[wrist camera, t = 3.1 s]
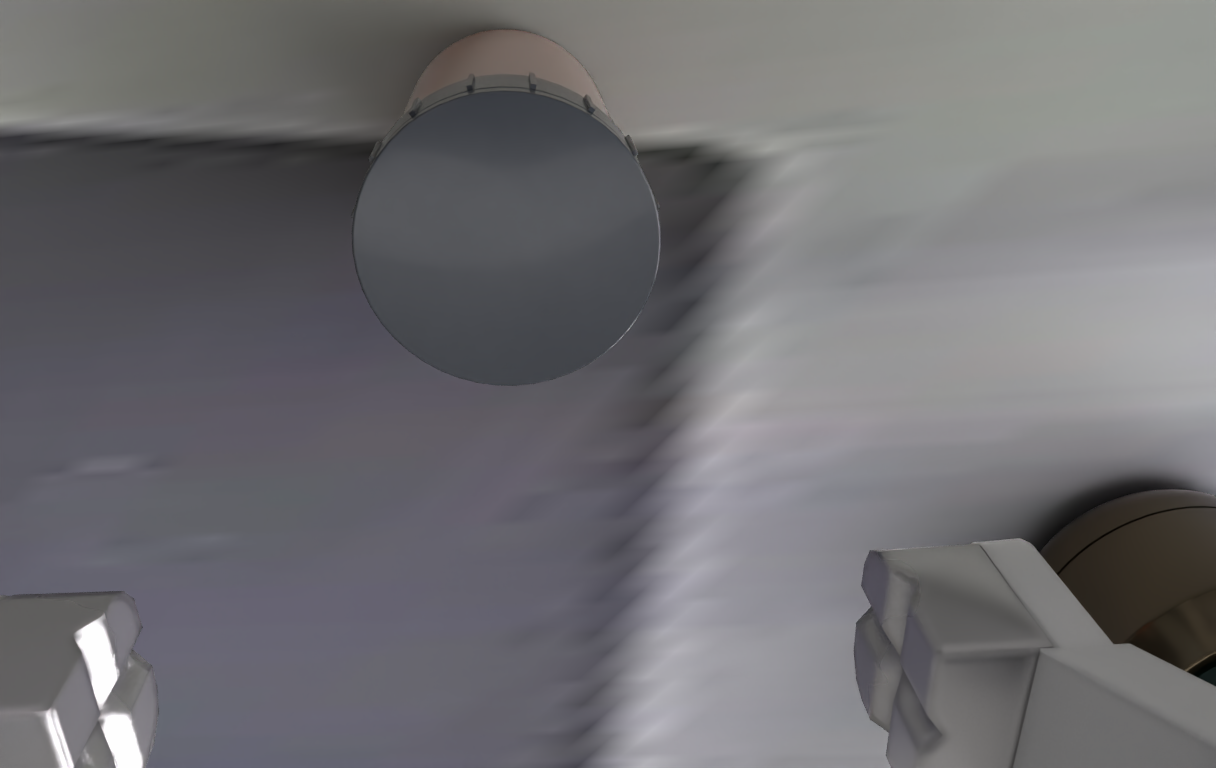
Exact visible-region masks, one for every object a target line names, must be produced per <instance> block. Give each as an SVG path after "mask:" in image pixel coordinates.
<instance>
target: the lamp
mask: <svg viewBox="0 0 1216 768" xmlns="http://www.w3.org/2000/svg"><path fill="white" fill-rule="evenodd" d="M1039 553H1040V555H1041V556H1042V557H1043V558H1044V559H1045V561H1046V562H1047V563H1048V564H1049V566H1050V567H1051V568H1052V569H1053V571H1054V572H1055V573H1056V574H1057V575H1058V577H1059V578H1060V579H1061V580H1062V582H1063V583H1064V584H1065V585H1066V586H1067V588H1068V589H1069V590H1070V591H1071V593H1072V594H1073V595H1074V596H1075V597H1076V599H1077V600H1078V601H1079V602H1080V604H1081V605H1082V606H1083V607H1084V609H1085V610H1086V611H1087V612H1088V613H1089V615H1090V616H1091V617H1092V618H1093V620H1094V621H1095V622H1096V623H1097V624H1098V626H1099V627H1100V628H1101V629H1102V631H1103V632H1104V633H1105V634H1106V635H1107V637H1108V638H1109V639H1110V640H1111V642H1112V643H1113V644H1132V645H1134V646H1136V647H1138V648H1140V649H1142V650H1144V651H1146V652H1148V653H1150V654H1152V655H1154V656H1156V657H1158V658H1160V659H1162V660H1164V661H1166V662H1168V663H1170V664H1172V665H1174V666H1176V667H1178V668H1180V669H1182V670H1184V671H1186V672H1188V673H1190V674H1192V675H1194V676H1196V677H1198V678H1200V679H1202V680H1204V681H1206V682H1208V683H1210V684H1212V685H1214V686H1216V496H1215V495H1211V494H1208V493H1204V492H1199V491H1193V490H1184V489H1158V490H1149V491H1143V492H1138V493H1133V494H1129V495H1126V496H1122V497H1119V498H1116V499H1114V500H1111V501H1108V502H1106V503H1104V504H1101V505H1099V506H1097V507H1095V508H1093V509H1091V510H1089V511H1088V512H1086V513H1084V514H1082V515H1081V516H1079V517H1078V518H1076V519H1075V520H1073V521H1072V522H1070V523H1069V524H1068V525H1067V526H1065V527H1064V528H1063V529H1061V530H1060V531H1059V532H1058V533H1057V534H1056V535H1055V536H1054V537H1053V538H1052V539H1051V540H1050V541H1049V542H1048V543H1047V544H1046V545H1045V546H1044V547H1043V548H1042V550H1041V551H1040V552H1039Z"/></svg>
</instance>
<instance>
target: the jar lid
mask: <svg viewBox="0 0 1216 768" xmlns="http://www.w3.org/2000/svg"><path fill="white" fill-rule="evenodd" d="M636 155H638V151H637V149H636V147H635V145H634V143H633V141H632V139H631V138H630V136H629V135H628V136H626V137H625V136H624V135H623V133H622V132H621V130H620V129H619V128H618V127H617V126H616V125H615V124H614V122H613V121H612V120H611V119H610V118H609V117H608V116H607V115H606V114H605V113H604V112H602V111H601V110H600V109H599V108H598V107H597V106H596V105H594V104H593V102H592V100H591V97H590V96H589V95H587V94H586V95H585V96H584V97H582V96H581V95H579V94H578V93H576V92H574V91H572V90H570V89H568V88H566V87H563V86H561V85H559V84H556V83H553V82H550V81H547V80H544V79H541V78H535V73H531V72H530V73H529V76H524V75H512V74H496V75H484V76H478V77H475V76H474V73H472V74H469V75H468V79H465V80H461V81H458V82H456V83H453V84H450V85H448V86H445V87H443V88H441V89H439V90H437V91H435V92H434V93H432V94H430V95H428V96H426V97H425V98H424V99H422V100H420V99H419V97H418V98H416V99H415V100H414V102H413V104H412V106H411V108H410V109H409V110H408V111H407V112H406V113H405V114H404V115H403V116H402V117H401V118H400V119H399V120H398V121H397V122H396V123H395V125H394V126H393V127H392V129H391V130H390V131H389V133H388V134H387V135H386V137H385V138H384V140H383V142H380V141H377V143H376V145H375V147H374V149H373V151H372V153H371V155H370V157H369V159H368V160H369V161H370V162H372V163H371V165H370V167H369V169H368V171H367V173H366V175H365V178H364V180H363V183H362V186H361V188H360V191H359V193H358V197H357V201H356V205H355V207H354V209H353V211H352V214H351V218H353V225H352V248H353V257H354V262H355V267H356V272H357V275H358V278H359V281H360V284H361V287H362V290H363V292H364V294H365V296H366V298H367V300H368V303H369V305H370V307H371V308H372V310H373V311H374V313H375V314H376V316H377V317H378V319H379V320H380V322H381V323H382V325H383V326H384V327H385V328H386V329H387V330H388V332H389V333H390V334H391V335H392V336H393V337H394V338H395V339H396V340H397V341H398V342H399V343H400V344H401V345H402V346H403V347H405V348H406V349H407V350H408V351H409V352H411V353H412V354H413V355H415V356H416V357H418V358H419V359H421V360H422V361H423V362H425V363H427V364H429V365H431V366H433V367H434V368H436V369H438V370H440V371H442V372H445V373H447V374H450V375H453V376H455V377H458V378H461V379H465V380H469V381H473V382H476V383H483V384H490V385H507V386H517V385H527V384H535V383H540V382H544V381H549V380H553V379H556V378H559V377H561V376H564V375H567V374H570V373H572V372H574V371H576V370H578V369H580V368H582V367H584V366H586V365H588V364H589V363H591V362H593V361H594V360H596V359H597V358H599V357H600V356H602V355H603V354H604V353H605V352H607V351H608V350H609V349H610V348H611V347H613V346H614V345H615V344H616V343H617V342H618V341H619V340H620V339H621V338H622V337H623V336H624V335H625V333H626V332H627V331H628V330H629V329H630V328H631V326H632V325H633V323H634V322H635V321H636V319H637V318H638V316H639V315H640V313H641V311H642V310H643V308H644V306H645V304H646V302H647V300H648V298H649V296H650V293H651V290H652V288H653V285H654V282H655V279H656V275H657V270H658V266H659V261H660V250H661V230H660V220H659V215H658V210H659V209H660V206H659V203H658V201H657V199H656V197H655V195H654V193H653V191H652V188H651V186H650V184H649V182H648V180H647V178H646V176H645V174H644V171H643V169H642V167H641V165H640V163H639V161H638V159H637V157H636Z"/></svg>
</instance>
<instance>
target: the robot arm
mask: <svg viewBox="0 0 1216 768" xmlns="http://www.w3.org/2000/svg"><path fill="white" fill-rule="evenodd" d="M861 586H862V588H863V590H864V592H865V594H866V596H867V598H868V600H869V602H870V604H871V607H870V608H869V609H868V611H867V612H866V613H865V614H864V615H863V616H862V617H861V618H860V619H859V620H858V621H857V623H856V632H855V643H854V659H855V670H856V680H857V683H858V687H859V691H860V695H861V699H862V701H863V704H864V706H865V708H866V711H867V713H868V716H869V718H870V720H872V721H873V722H874V723H876V724H877V725H879V726H880V727H882V728H883V729H884V730H886V731H887V732H889V737H888V743H887V750H886V757H887V759H888V761H889V764H890V766H891V768H1216V686H1214V685H1212V684H1210V683H1208V682H1206V681H1204V680H1202V679H1200V678H1198V677H1196V676H1194V675H1192V674H1190V673H1188V672H1186V671H1184V670H1182V669H1180V668H1178V667H1176V666H1174V665H1172V664H1170V663H1168V662H1166V661H1164V660H1162V659H1160V658H1158V657H1156V656H1154V655H1152V654H1150V653H1148V652H1146V651H1144V650H1142V649H1140V648H1138V647H1136V646H1134V645H1132V644H1113V643H1112V642H1111V640H1110V639H1109V638H1108V637H1107V635H1106V634H1105V633H1104V632H1103V631H1102V629H1101V628H1100V627H1099V626H1098V624H1097V623H1096V622H1095V621H1094V620H1093V618H1092V617H1091V616H1090V615H1089V613H1088V612H1087V611H1086V610H1085V609H1084V607H1083V606H1082V605H1081V604H1080V602H1079V601H1078V600H1077V599H1076V597H1075V596H1074V595H1073V594H1072V593H1071V591H1070V590H1069V589H1068V588H1067V586H1066V585H1065V584H1064V583H1063V582H1062V580H1061V579H1060V578H1059V577H1058V575H1057V574H1056V573H1055V572H1054V571H1053V569H1052V568H1051V567H1050V566H1049V564H1048V563H1047V562H1046V561H1045V559H1044V558H1043V557H1042V556H1041V555H1040V553H1039V552H1038V551H1037V550H1036V548H1035V547H1034V546H1033V545H1032V544H1031V543H1029V542H1027V541H1025V540H1023V539H1021V538H1018V539H1006V540H995V541H983V542H972V543H970V544H965V545H949V546H934V547H918V548H903V549H887V550H872V551H870V552H869V554H868V557H867V559H866V561H865V564H864V570H863V577H862V584H861ZM142 628H143V627H142V624H141V621H140V617H139V614H138V611H137V607H136V604H135V600H134V598H132V597H131V596H130V595H128V594H127V593H125V592H124V591H109V592H80V593H52V594H23V595H12V596H5V595H0V768H145V766H146V764H147V761H148V758H149V756H150V753H151V751H152V748H153V745H154V741H155V735H156V728H157V721H158V715H159V706H158V689H157V684H156V679H155V675H154V671H153V667H152V665H151V664H149V663H148V662H147V661H146V660H145V659H143V658H142V657H141V656H140V655H139V654H137V653H136V652H135V651H134V650H132V649H133V646H134V644H135V642H136V640H137V638H138V636H139V634H140V632H141V630H142Z"/></svg>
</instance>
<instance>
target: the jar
mask: <svg viewBox="0 0 1216 768" xmlns="http://www.w3.org/2000/svg"><path fill="white" fill-rule="evenodd" d="M530 72H531V73H535V78H541V79H544V80H547V81H550V82H553V83H556V84H559V85H561V86H563V87H566V88H568V89H570V90H572V91H574V92H576V93H578V94H579V95H581V96H582V97H584V96H585V95H586V94H587V95H589V96H590V97H591V100H592V102H593V104H594V105H596V106H597V107H598V108H599V109H600V110H601V111H602V112H604V113H605V114H606V115H607V116H608V117H609V118H610V116H609V114H608V111H607V109H606V107H605V105H604V102H603V100H602V98H601V96H600V93H599V91H598V89H597V87H596V85H595V83H594V81H593V80H592V78H591V77H590V75H589V74H588V72H587V70H586V69H585V68H584V67H583V66H582V65H581V63H580V62H579V61H578V60H577V59H576V58H575V57H574V56H573V55H571V54H570V53H569V52H568V51H567V50H565V49H564V48H562V47H561V46H559V45H558V44H556V43H555V42H553V41H551V40H549V39H547V38H545V37H542V36H540V35H537V34H534V33H531V32H526V31H521V30H512V29H497V30H488V31H483V32H479V33H475V34H472V35H470V36H467V37H464V38H462V39H460V40H458V41H457V42H455V43H453V44H451V45H450V46H448V47H447V48H446V49H444V50H443V51H442V52H440V53H439V54H438V55H437V56H436V57H435V58H434V59H433V60H432V61H431V62H430V64H429V65H428V66H427V68H426V69H425V70H424V72H423V73H422V75H421V76H420V78H419V80H418V82H417V83H416V86H415V88H414V90H413V92H412V95H411V97H410V99H409V101H408V104H407V106H406V108H405V110H404V113H403V115H404V114H405V113H406V112H407V111H408V110H409V109H410V108H411V106H412V104H413V102H414V100H415V99H416V98H418V97H419V99H420V100H422V99H424V98H425V97H426V96H428V95H430V94H432V93H434V92H435V91H437V90H439V89H441V88H443V87H445V86H448V85H450V84H453V83H456V82H458V81H461V80H465V79H468V75H469V74H472V73H474V76H475V77H478V76H484V75H496V74H512V75H524V76H529V73H530ZM403 115H402V116H403ZM610 119H611V118H610Z"/></svg>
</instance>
